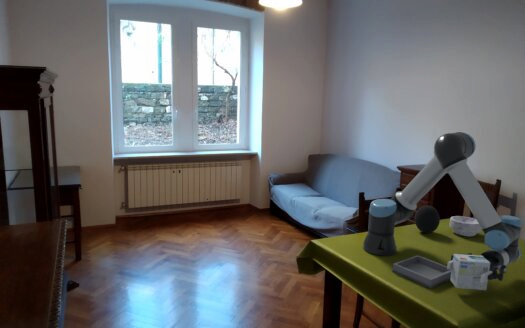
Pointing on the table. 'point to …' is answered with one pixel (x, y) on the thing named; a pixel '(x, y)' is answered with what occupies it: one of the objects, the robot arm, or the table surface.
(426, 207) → the decorative egg
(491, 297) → the table surface
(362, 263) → the table surface
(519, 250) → the robot arm
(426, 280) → the tray
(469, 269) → the light bulb box
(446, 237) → the table surface
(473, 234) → the paper bowls
